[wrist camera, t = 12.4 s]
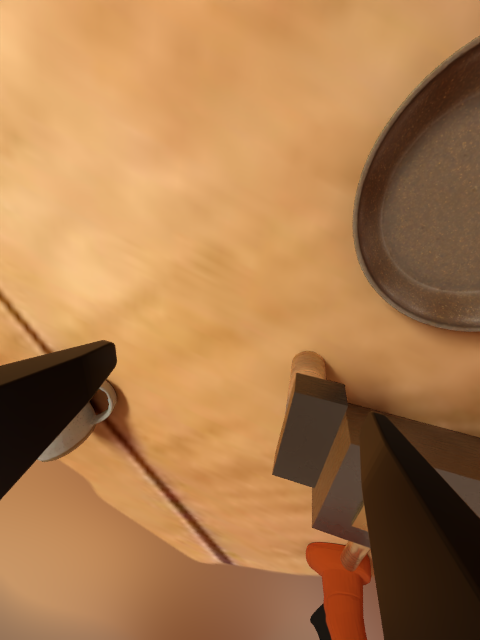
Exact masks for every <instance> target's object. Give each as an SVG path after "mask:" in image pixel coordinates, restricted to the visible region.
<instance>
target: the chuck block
mask: <svg viewBox="0 0 480 640" xmlns="http://www.w3.org/2000/svg"><path fill="white" fill-rule="evenodd" d="M371 411H374V412H378V413H381V414H384V415H386V416H387V417H388V419H389V420H390V421H391V422H392V423H393V424H394V425H395V426H396V427H397V428H398V429H399V431H400V432H401V433H402V434H403V435H404V436H405V437H406V438H407V439H408V440H409V441H410V443H411V444H412V445H413V446H414V447H415V448H416V449H417V450H418V451H419V452H420V453H421V455H422V456H423V457H424V458H425V459H426V460H427V461H428V462H429V463H430V464H431V465H432V466H433V468H434V469H435V470H436V471H437V472H438V473H439V474H440V475H441V476H442V477H443V478H444V480H445V481H446V482H447V483H448V484H449V485H450V486H451V487H452V488H453V489H454V490H455V492H456V493H457V494H458V495H459V496H460V497H461V498H462V499H463V500H464V501H465V502H466V504H467V505H468V506H469V507H470V508H471V509H472V510H473V511H474V512H475V513H476V514H477V516H478V517H479V518H480V438H478V437H474V436H471V435H467V434H463V433H459V432H455V431H452V430H448V429H444V428H440V427H437V426H433V425H429V424H425V423H421V422H418V421H414V420H410V419H406V418H402V417H399V416H395V415H391V414H387V413H383V412H380V411H376V410H372V409H368V408H364V407H361V406H357V405H353V404H349V403H348V407H347V410H346V412H345V415H344V417H343V420H342V422H341V425H340V427H339V430H338V432H337V435H336V437H335V440H334V442H333V445H332V447H331V450H330V452H329V454H328V457H327V459H326V462H325V464H324V467H323V469H322V472H321V474H320V477H319V479H318V482H317V484H316V487H315V488H312V528H314V529H317V530H320V531H323V532H326V533H328V534H331V535H334V536H337V537H340V538H343V539H345V540H348V543H347V545H346V546H345V548H344V549H343V551H342V553H341V555H340V560H341V563H342V565H343V566H344V568H345V569H347V570H348V571H355V570H356V568H357V567H358V565H359V564H360V563H361V561H362V560H363V558H364V557H365V555H366V554H367V553H368V551H369V550H370V541H369V534H368V528H367V521H366V514H365V508H364V501H363V494H362V486H361V465H360V438H359V436H360V430H361V427H362V425H363V423H364V421H365V419H366V417H367V415H368V413H369V412H371Z"/></svg>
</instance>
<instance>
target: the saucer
mask: <svg viewBox="0 0 480 640" xmlns="http://www.w3.org/2000/svg"><path fill="white" fill-rule="evenodd" d="M353 237H354V245H355V250H356V254H357V258H358V261H359V264H360V266H361V269H362V271H363V273H364V275H365V276H366V278H367V280H368V281H369V283H370V284H371V286H372V287H373V288H374V289H375V291H376V292H377V293H378V294H379V295H380V296H381V297H382V298H383V299H384V300H385V301H386V302H387V303H389V304H390V305H391V306H392V307H394V308H395V309H396V310H398V311H399V312H401V313H403V314H404V315H406V316H408V317H410V318H412V319H414V320H417V321H419V322H422V323H424V324H428V325H431V326H435V327H439V328H443V329H449V330H455V331H468V332H480V36H478V37H477V38H475V39H473V40H472V41H471V42H469V43H468V44H466V45H465V46H463V47H462V48H461V49H459V50H458V51H457V52H455V53H454V54H453V55H451V56H450V57H449V58H448V59H446V60H445V61H444V62H443V63H441V64H440V65H439V66H438V67H437V68H436V69H435V70H433V71H432V72H431V73H430V74H429V75H428V76H427V77H426V78H425V79H424V80H423V81H422V82H421V83H420V84H419V85H418V86H417V87H416V88H415V89H414V90H413V91H412V92H411V93H410V94H409V96H408V97H407V98H406V100H405V101H404V102H403V103H402V104H401V106H400V107H399V108H398V109H397V111H396V112H395V113H394V115H393V116H392V117H391V119H390V120H389V122H388V123H387V125H386V126H385V128H384V129H383V131H382V133H381V134H380V136H379V137H378V139H377V140H376V142H375V145H374V147H373V148H372V150H371V152H370V154H369V156H368V158H367V161H366V163H365V166H364V168H363V171H362V174H361V177H360V181H359V184H358V188H357V192H356V197H355V202H354V210H353Z"/></svg>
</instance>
